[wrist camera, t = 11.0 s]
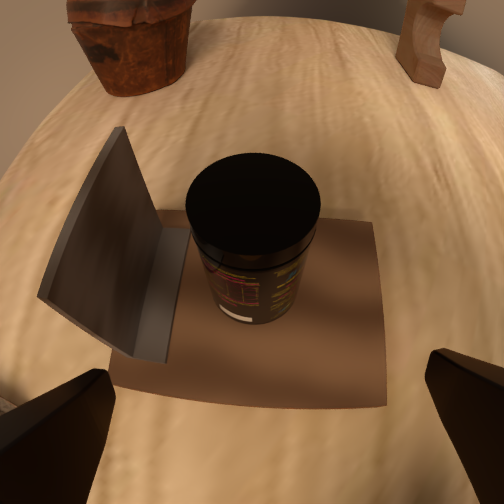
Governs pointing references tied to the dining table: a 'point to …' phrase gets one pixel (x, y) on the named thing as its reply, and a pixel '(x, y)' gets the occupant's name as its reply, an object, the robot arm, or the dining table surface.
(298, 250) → the supplement container
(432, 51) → the decorative block
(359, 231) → the shelf board
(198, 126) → the dining table surface
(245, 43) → the dining table surface
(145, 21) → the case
